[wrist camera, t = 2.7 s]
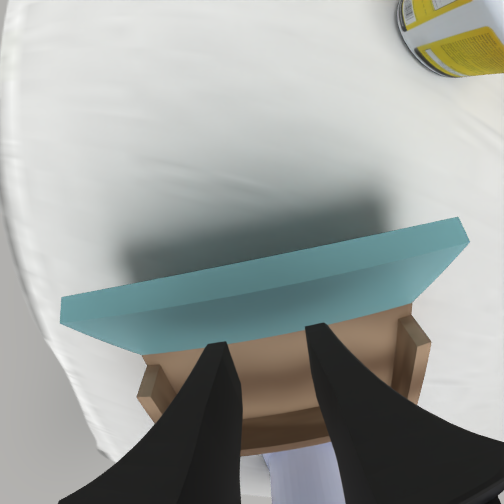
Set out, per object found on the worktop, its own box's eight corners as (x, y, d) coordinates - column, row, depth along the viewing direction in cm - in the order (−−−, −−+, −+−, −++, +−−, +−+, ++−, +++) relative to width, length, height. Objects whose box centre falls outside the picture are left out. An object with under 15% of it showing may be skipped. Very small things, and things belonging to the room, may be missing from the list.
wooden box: (392, 375, 23) (413, 417, 18) (189, 413, 24) (182, 459, 19) (399, 287, 20) (433, 328, 15) (148, 336, 21) (129, 386, 16)
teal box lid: (408, 305, 17) (470, 241, 10) (145, 356, 18) (59, 323, 11) (403, 288, 18) (458, 216, 10) (144, 338, 19) (61, 297, 12)
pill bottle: (478, 82, 14) (614, 89, 3) (404, 75, 14) (561, 54, 3) (458, 0, 11) (574, -36, 1) (380, -16, 12) (492, -99, 1)
